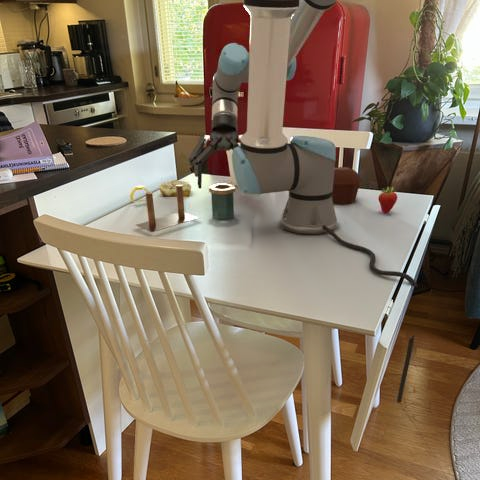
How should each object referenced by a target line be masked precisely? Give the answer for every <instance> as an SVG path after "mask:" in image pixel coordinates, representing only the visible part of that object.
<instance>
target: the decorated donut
mask: <svg viewBox="0 0 480 480" xmlns="http://www.w3.org/2000/svg"><path fill="white" fill-rule="evenodd" d="M176 185H182V186H183V198H185V197H187V196H189V195H190V194H191V192H192V185H191V184H190V183H189V182H187V181H183V180H170V181H165V182H162V183H161V184H160V185H159V192H160V194H161V195H162V196H164V197H166V198H177V193H176Z"/></svg>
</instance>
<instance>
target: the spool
mask: <svg viewBox="0 0 480 480" xmlns="http://www.w3.org/2000/svg"><path fill="white" fill-rule="evenodd" d="M236 187H237V186H236V185H233V184H232V183H225V182H224V183H222V182H221V183H215V184H211V185H209V187H208V192H209V193H211V194H210V195H211V213H212V214H211V215H212V220H216V221H229V220H233V219H234V218H235V205H234V204H235V198H234V193H235V192H236V189H237V188H236Z"/></svg>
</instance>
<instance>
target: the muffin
mask: <svg viewBox="0 0 480 480" xmlns="http://www.w3.org/2000/svg"><path fill="white" fill-rule="evenodd" d="M362 181H363V180H362V178H361V176H360V175H359V173H358V172H357V171H356V170H354V169H353V168H350V167H346V166H339V167H335V169H334V180H333V191H332V201H333V205H342V206H343V205H351V204H353V203H355V202H356V199H357V196H358V192H359V189H360V184H361V183H362Z"/></svg>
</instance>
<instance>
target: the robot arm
mask: <svg viewBox="0 0 480 480" xmlns="http://www.w3.org/2000/svg"><path fill="white" fill-rule="evenodd" d="M337 1H338V0H243V7H244V8H245V10H246V12H248V14H249V15H250V18H249V19H250V23H249V24H250V25H249V28H250V29H249V50H247V48H246V47H245V46H243V45H242V44H239V43H237V42H231V43H228V44H226V45H225V46H224V47H223V48H222V50H221V53H220V55H219V59H218V62H217V69H216V72H215V73H214V74H213V78H212V83H211V89H212V104H211V105H212V106H211V132H210V135H209V134H208V135H207V134H205V133H204V132H201V133H200V136H199V139H198V141H197V143H196V145H195V146H194V148H193V150H192V152H191V153H190V155H189V156H188V159H187V160H188V164H189V166H191V167H192V166H193V173H194V176H195V178H197V187H198V189H202V183H203V181H202V179H203V167H202V165H203V164H204V163H205V161H207V160H208V159H209V157H210V156H212V155H213V154H214V153H216V152H217V151H219V152H223V151H230V150H231V149H232V150H233V153H232V163H233V170H234V174H235V178H236V181H237V184H238V186H237V187H238V188H239V190H240V191H241V192H242V193H243V194H245V195H258V196H259V195H262V194H271V193H272V194H273V193H281V192H288V197H287V201H286V204H285V207H284V209H283V212H282V215H281V218H280V225H281V228H283V229H284V230H286V231H288V232H290V233H294V234H298V235H299V234H300V235H322V234H329V235H330V236H331V237H333V239H335V241H336V242H338V243H339V244H341V245H342V246H345V247H347V248H350V249H353V250H357V251H361V252H364V253H365V254H368V255H369V256H370V261H369V268H370V270H371V271H372V272H373V273H375V274H376V275H380V276H385V277H386V276H387V277H398V278H402V279H404V280H406V281H407V282H408V283H410V285H411V286H412V287H414V288H418V284H417V282H416V280H415V279H414V278H413V277H412V276H410V275H409V274H407V273H405V272H401V271H395V270H394V271H393V270H383V269H382V270H381V269H379V268H377V267H376V266H375V262H376V254H375V253H374V252H373V251H372V250H371V249H369V248H367V247H364V246H361V245H358V244H353V243H350V242H348V241H346V240H344V239H342V238H341V237H339V235H338V234H336V233H335V232H334V230H335V229H336V228H337V224H338V223H337V222H338V218H337V214H336V211H335V206H334V205H335V204H333V201H332V191H333V180H334V169H335V168H336V161H337V159H336V158H337V157H336V156H337V154H336V153H337V151H336V149H337V147H336V145H335V143H334V142H333V141H331V140H330V139H326V138H321V137H317V136H311V135H309V136H308V135H293V136H291V137H290V139H289V141H288V138H287V136H286V135H285V134H284V133H283V126H284V116H285V115H284V114H285V102H286V99H285V98H286V89H287V88H286V87H287V81H291V80H292V79H293V78H294V76H295V74H296V70H297V56H298V54H299V52H300V51H301V49H302V48H303V46H304V44H305V43H306V41H307V40H308V39H309V36H310V35H311V34H312V33H313V31H314V28H315V27H316V25H317V24H318V22H319V21H320V20H321V17H322V16H323V14H324V13H325V11H327V10H330V9H331V8H332V7H333V6H334V5H335V4H336V2H337ZM248 51H249V52H248ZM243 83H246V84H248V85H247V87H248V88H247V113H246V115H247V118H246V131H245V132H244V133H243V134H239V133H238V97H239V91H240V89H241V85H242V84H243ZM239 141H240V142H239ZM208 142H210V143H209V144H208V146H207V147H206V148H205V144H207V143H208ZM238 143H240V146H239V145H238ZM204 148H205V149H204ZM203 149H204V150H203ZM414 341H415V335H412V336H411V337H410V338H409V339H408V344H407V349H406V354H405V358H404V359H405V360H404V363H403V368H402V374H401V377H400V382H399V388H398V391H397V392H398V393H397V398H396V403H399V404H401V403H402V401H403V394H404V389H405V385H406V380H407V376H408V371H409V368H410V367H409V366H410V362H411V357H412V353H413V347H414Z"/></svg>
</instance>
